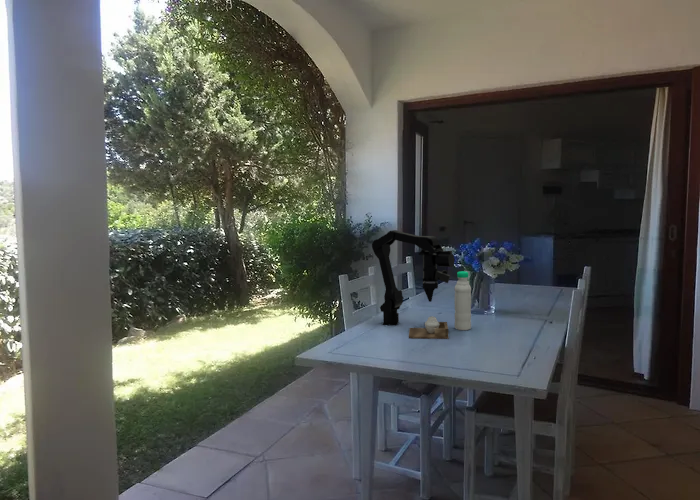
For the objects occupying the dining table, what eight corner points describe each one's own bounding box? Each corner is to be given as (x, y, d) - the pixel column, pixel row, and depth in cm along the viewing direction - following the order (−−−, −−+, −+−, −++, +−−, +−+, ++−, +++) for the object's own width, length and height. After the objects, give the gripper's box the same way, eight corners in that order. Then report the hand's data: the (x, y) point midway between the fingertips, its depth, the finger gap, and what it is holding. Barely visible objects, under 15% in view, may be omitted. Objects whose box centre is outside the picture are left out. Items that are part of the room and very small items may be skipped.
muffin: (435, 335, 201) (435, 318, 200) (422, 333, 205) (422, 316, 204) (442, 331, 206) (442, 315, 205) (429, 329, 210) (429, 313, 209)
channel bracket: (408, 338, 200) (408, 329, 200) (409, 329, 214) (409, 321, 213) (448, 339, 198) (448, 329, 197) (446, 330, 211) (446, 321, 211)
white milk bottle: (471, 327, 216) (471, 270, 213) (470, 331, 209) (470, 273, 207) (455, 326, 218) (455, 270, 215) (453, 330, 211) (453, 272, 209)
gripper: (450, 268, 199) (450, 306, 201) (448, 262, 218) (448, 297, 219) (422, 268, 201) (422, 306, 203) (422, 263, 219) (423, 297, 221)
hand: (430, 301), depth 211 cm, fingers closed
